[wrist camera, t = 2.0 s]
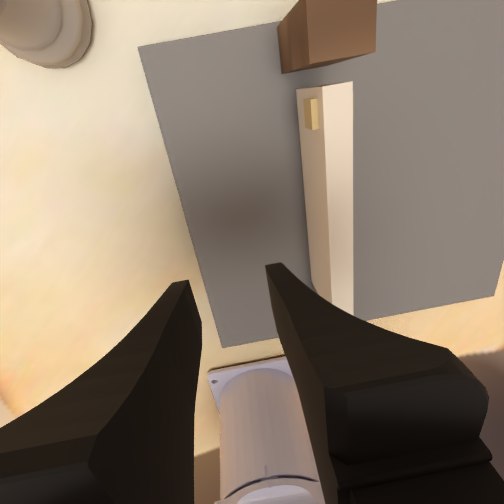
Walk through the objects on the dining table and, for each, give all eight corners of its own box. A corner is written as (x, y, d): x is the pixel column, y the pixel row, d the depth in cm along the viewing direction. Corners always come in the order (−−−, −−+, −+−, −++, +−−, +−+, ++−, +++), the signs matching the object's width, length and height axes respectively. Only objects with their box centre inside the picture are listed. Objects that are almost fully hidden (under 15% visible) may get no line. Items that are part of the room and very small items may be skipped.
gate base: (484, 288, 25) (493, 295, 24) (222, 339, 25) (222, 348, 24) (560, -26, 16) (580, -33, 15) (142, 49, 15) (137, 46, 15)
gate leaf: (332, 289, 22) (359, 335, 18) (308, 294, 22) (329, 341, 18) (323, 84, 16) (361, 79, 12) (289, 90, 16) (315, 87, 12)
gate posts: (336, 316, 23) (367, 373, 19) (306, 322, 23) (328, 381, 19) (325, 18, 15) (377, -21, 10) (276, 27, 15) (305, -8, 10)
